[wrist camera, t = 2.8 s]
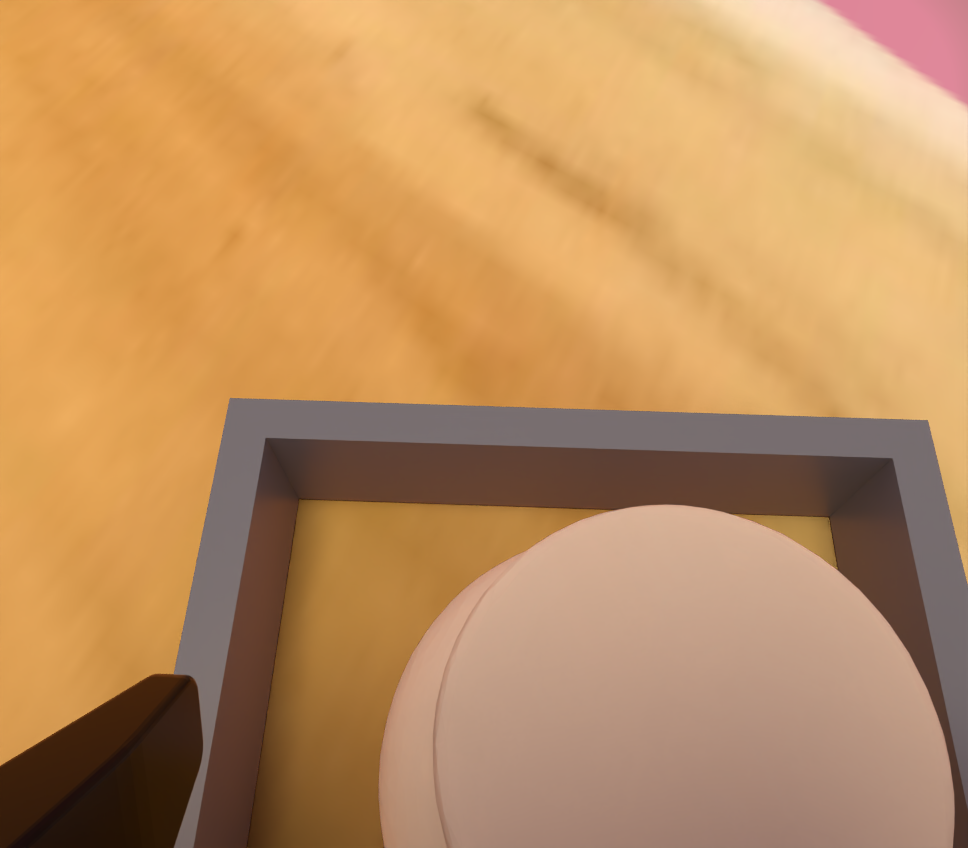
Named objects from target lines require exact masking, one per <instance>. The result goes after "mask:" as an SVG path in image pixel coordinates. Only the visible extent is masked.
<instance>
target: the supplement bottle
mask: <svg viewBox="0 0 968 848" xmlns="http://www.w3.org/2000/svg"><path fill="white" fill-rule="evenodd" d="M379 808H380V821H381V829H382V835H383V842H384V848H953V837H954V816H955V807H954V789H953V781H952V774H951V767H950V760H949V756H948V751H947V747H946V742H945V738H944V734H943V731H942V728H941V725H940V722H939V719H938V716H937V713H936V711H935V708H934V705H933V703H932V700H931V697H930V695H929V692H928V690H927V688H926V686H925V684H924V682H923V680H922V678H921V676H920V674H919V672H918V670H917V668H916V666H915V664H914V662H913V660H912V658H911V656H910V654H909V652H908V651H907V649H906V648H905V646H904V645H903V643H902V642H901V640H900V639H899V637H898V636H897V634H896V633H895V632H894V630H893V629H892V627H891V626H890V624H889V623H888V622H887V621H886V619H885V618H884V617H883V616H882V614H881V613H880V612H879V611H878V610H877V609H876V608H875V607H874V605H873V604H872V603H871V602H870V601H869V600H868V599H867V598H866V596H865V595H864V594H863V593H862V592H861V591H860V590H859V589H858V588H857V587H856V586H855V585H853V584H852V583H851V582H850V581H849V580H848V579H847V578H846V577H845V576H843V575H842V574H841V573H840V572H839V571H838V570H837V569H835V568H834V567H832V566H831V565H830V564H828V563H827V562H826V561H824V560H823V559H822V558H820V557H819V556H818V555H816V554H815V553H813V552H811V551H810V550H808V549H806V548H805V547H803V546H802V545H800V544H798V543H797V542H795V541H794V540H792V539H790V538H789V537H787V536H785V535H784V534H782V533H780V532H777V531H775V530H773V529H770V528H768V527H765V526H763V525H761V524H758V523H756V522H754V521H751V520H747V519H744V518H741V517H738V516H735V515H731V514H728V513H725V512H721V511H716V510H711V509H707V508H700V507H693V506H685V505H646V506H638V507H630V508H624V509H619V510H614V511H610V512H605V513H601V514H598V515H595V516H592V517H589V518H586V519H583V520H580V521H577V522H575V523H573V524H571V525H569V526H567V527H565V528H563V529H561V530H559V531H557V532H555V533H553V534H551V535H549V536H548V537H546V538H545V539H543V540H541V541H540V542H538V543H536V544H535V545H534V546H532V547H531V548H530V549H529V550H527V551H525V552H522V553H520V554H518V555H515V556H513V557H512V558H510V559H508V560H506V561H504V562H502V563H501V564H499V565H497V566H495V567H494V568H492V569H491V570H489V571H488V572H486V573H484V574H483V575H481V576H480V577H479V578H478V579H476V580H475V581H474V582H472V583H471V584H470V585H468V586H467V587H466V588H465V589H464V590H463V591H462V592H461V593H459V594H458V595H457V596H456V597H455V598H454V599H453V600H452V601H451V602H450V603H449V604H448V606H447V607H446V608H445V609H444V610H443V611H442V613H441V614H440V615H439V616H438V617H437V618H436V620H435V621H434V622H433V623H432V625H431V626H430V627H429V629H428V630H427V632H426V633H425V635H424V636H423V638H422V639H421V641H420V642H419V644H418V645H417V647H416V649H415V650H414V652H413V653H412V655H411V657H410V660H409V662H408V664H407V666H406V668H405V670H404V672H403V674H402V676H401V679H400V681H399V684H398V686H397V689H396V691H395V695H394V698H393V701H392V704H391V708H390V711H389V714H388V718H387V722H386V727H385V732H384V737H383V742H382V748H381V755H380V769H379Z"/></svg>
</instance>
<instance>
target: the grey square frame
mask: <svg viewBox="0 0 968 848" xmlns="http://www.w3.org/2000/svg"><path fill="white" fill-rule="evenodd" d="M299 499H318V500H348V501H378V502H407V503H437V504H467V505H496V506H526V507H556V508H586V509H615V510H619V509H624V508H630V507H638V506H646V505H685V506H693V507H700V508H707V509H711V510H716V511H721V512H725V513H734V514H764V515H794V516H823V517H830V522H831V528H832V534H833V540H834V546H835V552H836V558H837V564H838V570H839V572H840V573H841V574H842V575H843V576H845V577H846V578H847V579H848V580H849V581H850V582H851V583H852V584H853V585H855V586H856V587H857V588H858V589H859V590H860V591H861V592H862V593H863V594H864V595H865V596H866V598H867V599H868V600H869V601H870V602H871V603H872V604H873V605H874V607H875V608H876V609H877V610H878V611H879V612H880V613H881V614H882V616H883V617H884V618H885V619H886V621H887V622H888V623H889V624H890V626H891V627H892V629H893V630H894V632H895V633H896V634H897V636H898V637H899V639H900V640H901V642H902V643H903V645H904V646H905V648H906V649H907V651H908V652H909V654H910V656H911V658H912V660H913V662H914V664H915V666H916V668H917V670H918V672H919V674H920V676H921V678H922V680H923V682H924V684H925V686H926V688H927V690H928V692H929V695H930V697H931V700H932V703H933V705H934V708H935V711H936V713H937V716H938V719H939V722H940V725H941V728H942V731H943V734H944V738H945V742H946V747H947V751H948V756H949V760H950V767H951V774H952V781H953V789H954V807H955V816H954V837H953V848H968V585H967V581H966V577H965V573H964V568H963V564H962V560H961V556H960V552H959V548H958V543H957V539H956V535H955V531H954V527H953V523H952V519H951V514H950V510H949V506H948V502H947V498H946V494H945V489H944V485H943V481H942V477H941V473H940V469H939V465H938V460H937V456H936V452H935V448H934V444H933V440H932V435H931V431H930V427H929V423H928V420H902V419H871V418H839V417H808V416H776V415H745V414H713V413H682V412H650V411H619V410H587V409H556V408H525V407H493V406H462V405H430V404H399V403H367V402H336V401H304V400H273V399H241V398H230V400H229V405H228V410H227V415H226V420H225V425H224V430H223V435H222V440H221V445H220V449H219V454H218V459H217V464H216V469H215V474H214V479H213V484H212V489H211V494H210V499H209V504H208V508H207V513H206V518H205V523H204V528H203V533H202V538H201V543H200V548H199V553H198V558H197V562H196V567H195V572H194V577H193V582H192V587H191V592H190V597H189V602H188V607H187V612H186V617H185V621H184V626H183V631H182V636H181V641H180V646H179V651H178V656H177V661H176V666H175V671H174V674H178V675H190V676H191V677H193V678H194V679H195V681H196V684H197V686H198V693H199V703H200V713H201V723H202V733H203V755H202V761H201V765H200V769H199V772H198V775H197V778H196V781H195V784H194V787H193V791H192V794H191V797H190V800H189V803H188V806H187V809H186V812H185V815H184V818H183V821H182V824H181V827H180V831H179V834H178V837H177V840H176V843H175V846H174V848H247V842H248V835H249V828H250V822H251V815H252V808H253V802H254V795H255V788H256V782H257V775H258V768H259V762H260V755H261V748H262V742H263V735H264V728H265V721H266V715H267V708H268V701H269V695H270V688H271V681H272V675H273V668H274V661H275V655H276V648H277V641H278V635H279V628H280V621H281V615H282V608H283V601H284V594H285V588H286V581H287V574H288V568H289V561H290V554H291V548H292V541H293V534H294V528H295V521H296V514H297V508H298V501H299Z"/></svg>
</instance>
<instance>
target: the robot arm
mask: <svg viewBox="0 0 968 848" xmlns="http://www.w3.org/2000/svg"><path fill="white" fill-rule="evenodd" d="M202 755H203V733H202V723H201V713H200V703H199V693H198V686H197V684H196V681H195V679H194V678H193V677H191V676H190V675H178V674H154V675H151V676H149V677H147V678H145V679H144V680H142V681H140V682H139V683H137V684H135V685H134V686H132V687H130V688H129V689H127V690H125V691H124V692H122V693H120V694H119V695H117V696H115V697H114V698H112V699H110V700H109V701H107V702H105V703H104V704H102V705H101V706H99V707H97V708H96V709H94V710H92V711H91V712H89V713H87V714H86V715H84V716H82V717H81V718H79V719H77V720H76V721H74V722H72V723H71V724H69V725H67V726H66V727H64V728H62V729H61V730H59V731H57V732H56V733H54V734H52V735H51V736H49V737H47V738H46V739H44V740H42V741H41V742H39V743H37V744H36V745H34V746H32V747H31V748H29V749H27V750H26V751H24V752H23V753H21V754H19V755H18V756H16V757H14V758H13V759H11V760H9V761H8V762H6V763H4V764H3V765H1V766H0V848H174V846H175V843H176V840H177V837H178V834H179V831H180V827H181V824H182V821H183V818H184V815H185V812H186V809H187V806H188V803H189V800H190V797H191V794H192V791H193V787H194V784H195V781H196V778H197V775H198V772H199V769H200V765H201V761H202Z"/></svg>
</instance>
